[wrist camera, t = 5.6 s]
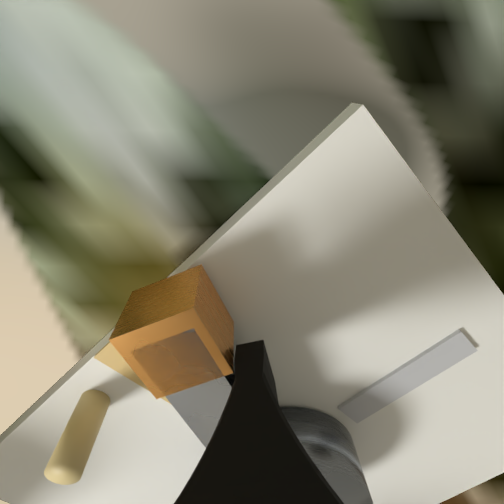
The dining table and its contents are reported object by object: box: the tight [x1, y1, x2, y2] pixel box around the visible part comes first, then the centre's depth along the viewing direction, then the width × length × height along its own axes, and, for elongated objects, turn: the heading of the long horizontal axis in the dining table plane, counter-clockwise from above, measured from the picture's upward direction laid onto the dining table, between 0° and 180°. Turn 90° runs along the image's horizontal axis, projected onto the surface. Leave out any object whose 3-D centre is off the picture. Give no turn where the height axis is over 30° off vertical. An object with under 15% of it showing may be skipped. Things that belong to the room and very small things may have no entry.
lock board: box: [0, 103, 504, 504], centre depth 15 cm, size 20×24×4 cm
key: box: [109, 264, 373, 504], centre depth 13 cm, size 15×7×3 cm, turn 23°
